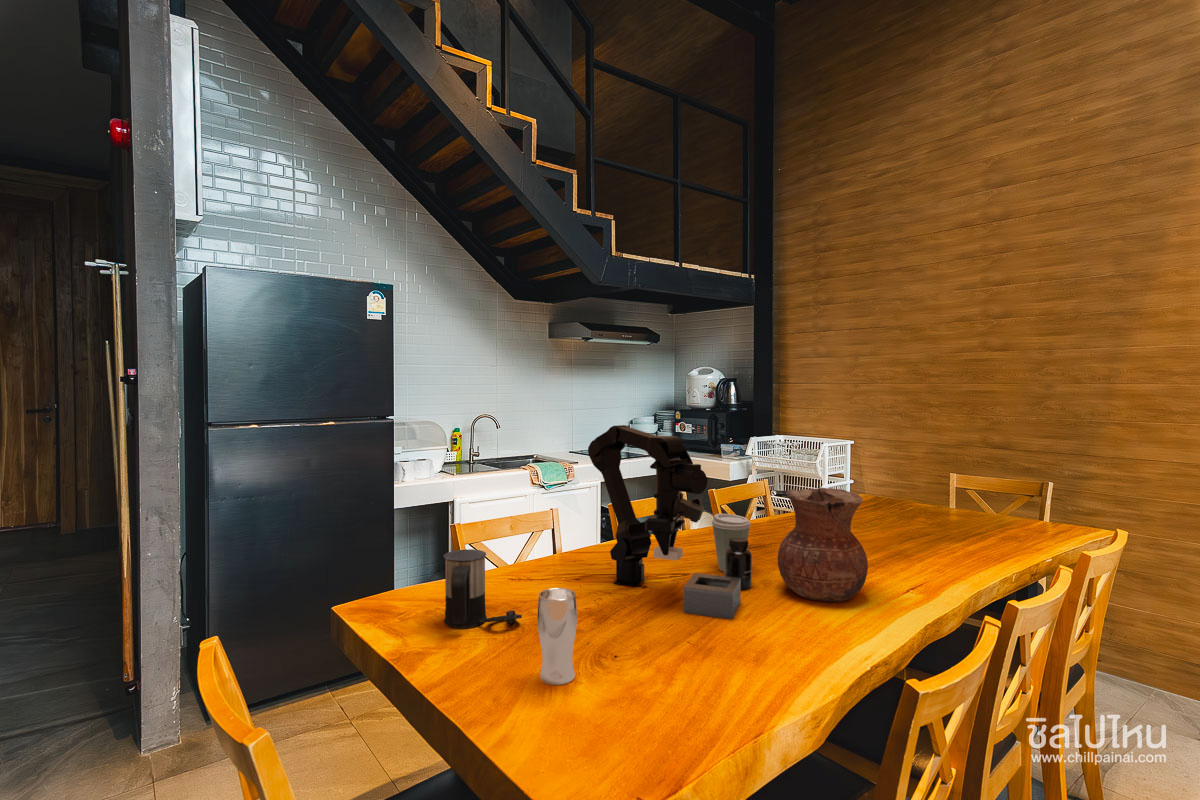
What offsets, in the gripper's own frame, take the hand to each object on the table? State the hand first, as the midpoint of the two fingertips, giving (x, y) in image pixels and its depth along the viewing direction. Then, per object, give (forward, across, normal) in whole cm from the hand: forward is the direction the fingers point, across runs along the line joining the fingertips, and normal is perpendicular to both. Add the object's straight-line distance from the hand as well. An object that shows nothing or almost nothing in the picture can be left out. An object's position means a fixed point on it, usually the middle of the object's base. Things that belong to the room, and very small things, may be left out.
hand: (668, 552), depth 154 cm
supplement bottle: (+11, +15, -14) cm, 23 cm away
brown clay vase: (+11, +17, -34) cm, 40 cm away
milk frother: (+11, -30, +33) cm, 46 cm away
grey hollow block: (+11, -3, -12) cm, 16 cm away
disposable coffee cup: (+11, +28, -10) cm, 31 cm away
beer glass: (+11, -48, +7) cm, 49 cm away
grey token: (+1, 0, 0) cm, 1 cm away
